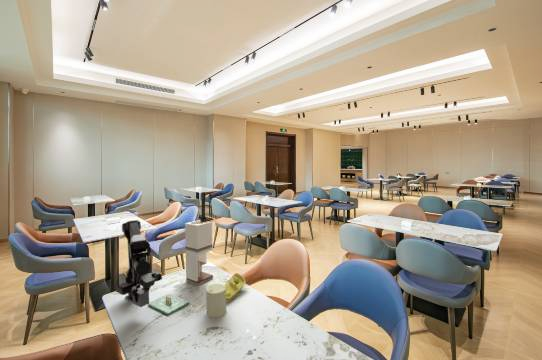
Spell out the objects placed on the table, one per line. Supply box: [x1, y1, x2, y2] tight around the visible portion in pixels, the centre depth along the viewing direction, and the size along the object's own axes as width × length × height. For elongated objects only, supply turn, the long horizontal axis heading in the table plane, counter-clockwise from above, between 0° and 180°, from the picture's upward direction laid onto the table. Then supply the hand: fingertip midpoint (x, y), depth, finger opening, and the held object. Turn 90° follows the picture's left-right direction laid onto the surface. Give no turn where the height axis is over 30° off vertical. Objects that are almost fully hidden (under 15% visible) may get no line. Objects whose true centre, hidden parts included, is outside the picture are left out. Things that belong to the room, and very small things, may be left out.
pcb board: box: [147, 293, 190, 316], centre depth 131 cm, size 16×12×4 cm
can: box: [205, 283, 227, 319], centre depth 123 cm, size 9×9×12 cm
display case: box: [184, 219, 214, 286], centre depth 158 cm, size 11×11×35 cm
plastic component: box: [223, 272, 246, 303], centre depth 142 cm, size 20×7×10 cm
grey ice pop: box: [132, 286, 150, 308], centre depth 121 cm, size 10×4×6 cm, turn 57°
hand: (140, 300), depth 120 cm, fingers closed on grey ice pop, 4 cm apart
